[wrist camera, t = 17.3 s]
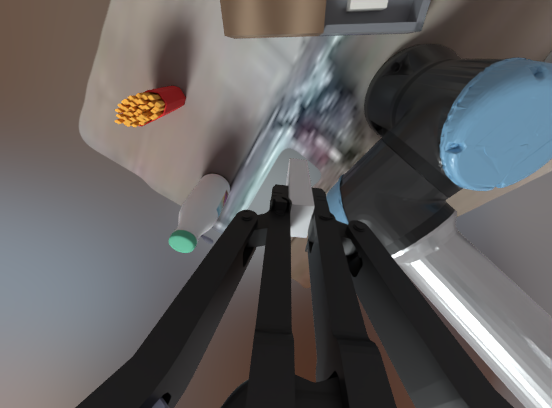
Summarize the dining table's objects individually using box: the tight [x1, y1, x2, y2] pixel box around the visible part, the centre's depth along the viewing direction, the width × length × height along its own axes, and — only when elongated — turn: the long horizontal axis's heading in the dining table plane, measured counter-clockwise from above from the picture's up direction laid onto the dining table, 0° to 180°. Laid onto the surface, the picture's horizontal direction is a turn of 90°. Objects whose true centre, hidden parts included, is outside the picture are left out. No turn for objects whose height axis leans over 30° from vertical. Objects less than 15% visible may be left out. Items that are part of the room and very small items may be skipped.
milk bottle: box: [169, 174, 230, 253], centre depth 44 cm, size 8×8×20 cm
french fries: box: [115, 86, 186, 127], centre depth 35 cm, size 8×4×12 cm, turn 114°
